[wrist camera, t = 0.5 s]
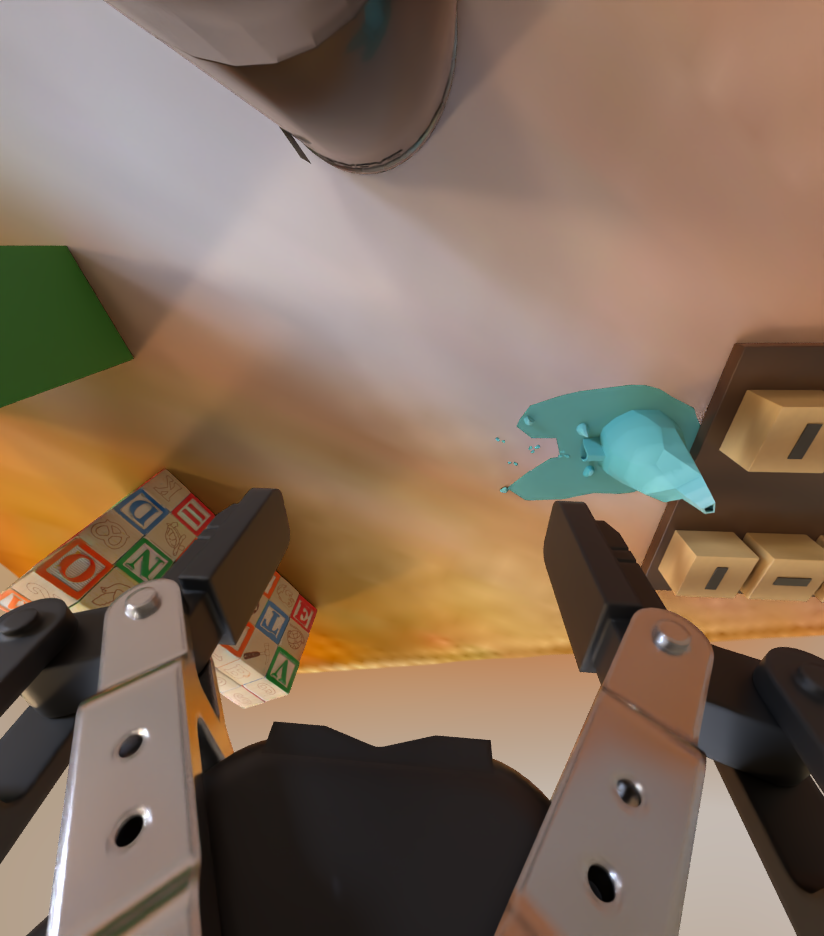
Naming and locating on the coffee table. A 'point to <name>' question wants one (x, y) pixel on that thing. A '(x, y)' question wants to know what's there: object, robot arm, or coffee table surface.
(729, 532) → the letter board
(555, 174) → the coffee table surface
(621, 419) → the diorama
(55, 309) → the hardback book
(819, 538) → the tan cross-marked cube
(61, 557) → the stack of blocks
